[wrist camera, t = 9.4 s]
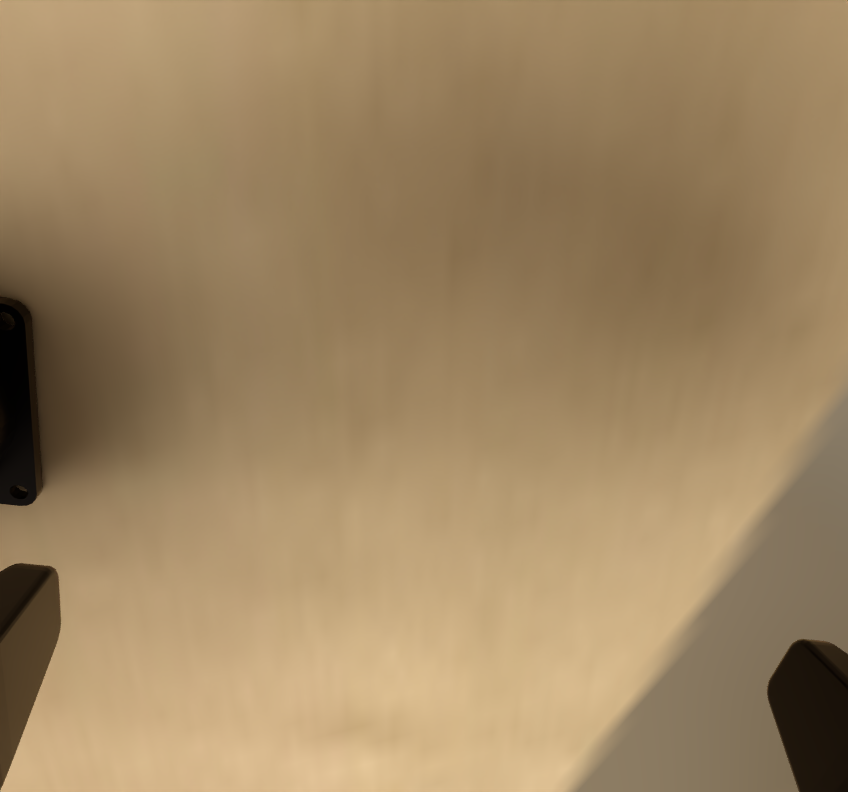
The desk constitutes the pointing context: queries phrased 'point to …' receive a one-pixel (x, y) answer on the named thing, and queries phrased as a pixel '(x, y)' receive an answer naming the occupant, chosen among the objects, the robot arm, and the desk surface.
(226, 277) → the desk surface
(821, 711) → the robot arm
